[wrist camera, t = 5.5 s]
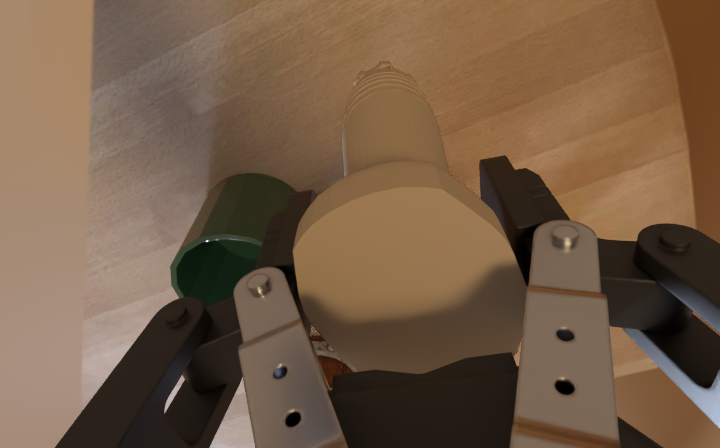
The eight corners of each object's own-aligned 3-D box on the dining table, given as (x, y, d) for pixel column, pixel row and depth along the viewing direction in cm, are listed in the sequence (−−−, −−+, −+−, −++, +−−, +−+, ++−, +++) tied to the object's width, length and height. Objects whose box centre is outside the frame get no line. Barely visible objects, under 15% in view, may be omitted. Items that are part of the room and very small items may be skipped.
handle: (368, 161, 24) (380, 405, 12) (310, 55, 21) (245, 246, 9) (449, 124, 23) (553, 355, 11) (401, 6, 20) (473, 147, 7)
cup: (187, 183, 43) (147, 246, 34) (294, 164, 41) (279, 225, 33) (227, 265, 49) (201, 334, 41) (321, 251, 48) (313, 319, 40)
